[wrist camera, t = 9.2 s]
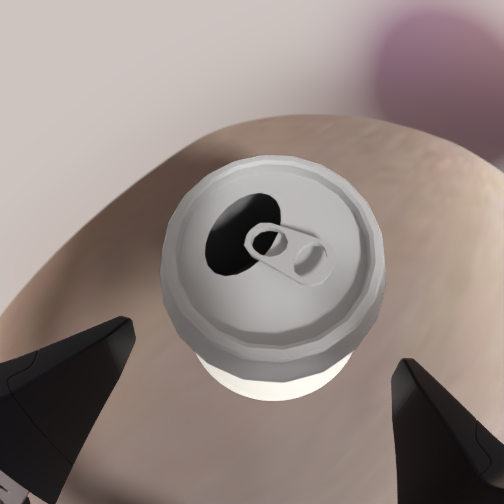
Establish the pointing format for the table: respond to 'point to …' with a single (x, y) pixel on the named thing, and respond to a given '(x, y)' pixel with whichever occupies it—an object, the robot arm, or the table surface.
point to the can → (273, 268)
